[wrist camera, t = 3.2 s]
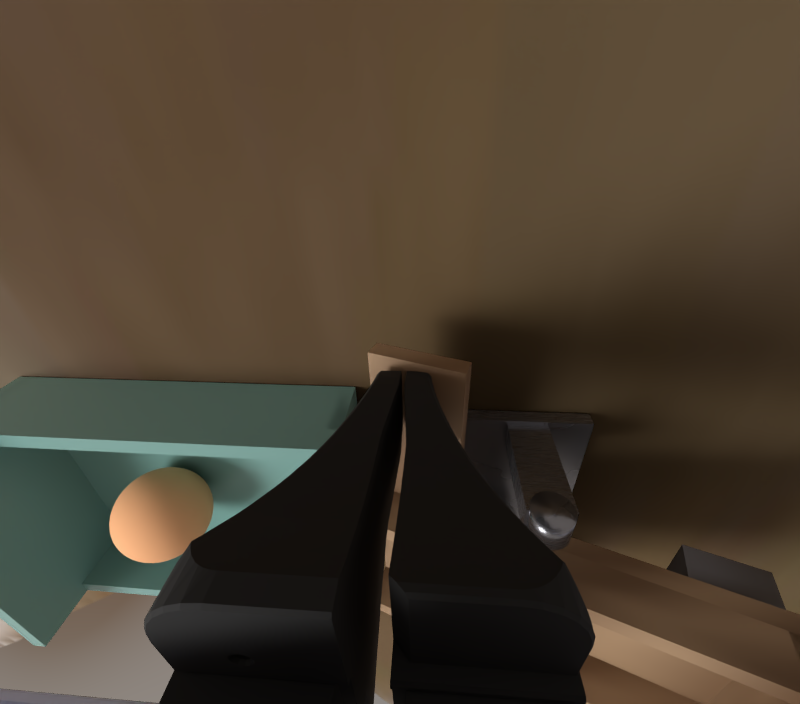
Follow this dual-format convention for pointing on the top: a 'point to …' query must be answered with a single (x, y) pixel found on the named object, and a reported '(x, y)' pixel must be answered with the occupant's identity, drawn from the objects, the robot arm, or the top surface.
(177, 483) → the ball
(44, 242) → the top surface
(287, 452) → the tray
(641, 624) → the chute
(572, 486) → the launcher stand
